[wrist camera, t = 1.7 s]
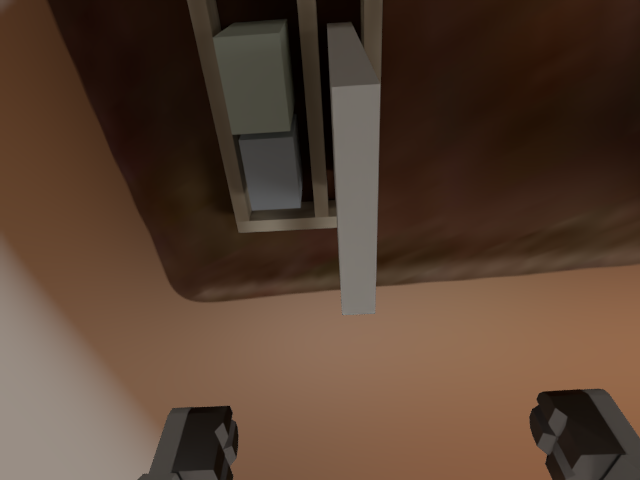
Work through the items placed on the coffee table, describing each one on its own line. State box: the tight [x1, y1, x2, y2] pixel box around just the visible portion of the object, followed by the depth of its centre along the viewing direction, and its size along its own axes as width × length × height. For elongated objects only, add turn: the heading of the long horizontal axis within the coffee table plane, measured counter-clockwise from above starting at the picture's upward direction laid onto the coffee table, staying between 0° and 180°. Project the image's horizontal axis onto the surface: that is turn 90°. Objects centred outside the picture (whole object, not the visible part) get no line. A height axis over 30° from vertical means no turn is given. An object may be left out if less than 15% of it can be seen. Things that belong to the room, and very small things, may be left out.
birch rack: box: [187, 0, 383, 233], centre depth 32 cm, size 13×20×3 cm, turn 4°
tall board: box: [327, 22, 380, 315], centre depth 25 cm, size 2×12×18 cm, turn 4°
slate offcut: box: [239, 113, 303, 211], centre depth 33 cm, size 4×6×6 cm, turn 4°
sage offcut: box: [213, 19, 295, 135], centre depth 28 cm, size 4×6×7 cm, turn 4°
